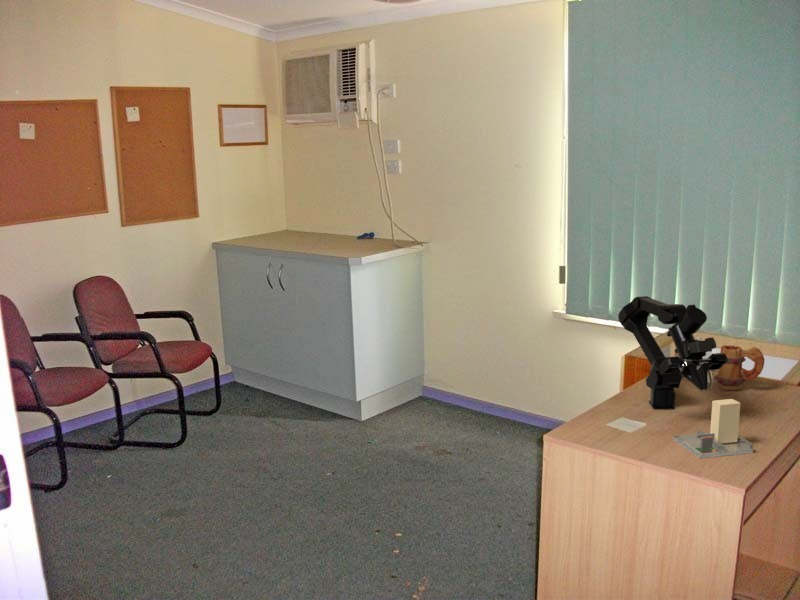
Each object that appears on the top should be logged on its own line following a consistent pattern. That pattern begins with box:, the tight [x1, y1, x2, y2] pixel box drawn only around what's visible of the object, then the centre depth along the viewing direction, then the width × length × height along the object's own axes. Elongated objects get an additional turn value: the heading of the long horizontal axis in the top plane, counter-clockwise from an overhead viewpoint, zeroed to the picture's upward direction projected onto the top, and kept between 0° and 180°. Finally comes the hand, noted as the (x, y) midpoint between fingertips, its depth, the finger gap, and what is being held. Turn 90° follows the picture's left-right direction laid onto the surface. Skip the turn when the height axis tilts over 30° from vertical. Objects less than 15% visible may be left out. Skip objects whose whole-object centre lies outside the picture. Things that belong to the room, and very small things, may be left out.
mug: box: [713, 344, 765, 391], centre depth 245 cm, size 15×8×15 cm, turn 55°
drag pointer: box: [701, 436, 713, 449], centre depth 196 cm, size 1×3×3 cm, turn 102°
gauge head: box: [697, 398, 741, 443], centre depth 201 cm, size 4×11×11 cm, turn 101°
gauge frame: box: [672, 429, 754, 459], centre depth 202 cm, size 13×16×2 cm
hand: (704, 389), depth 210 cm, fingers closed
